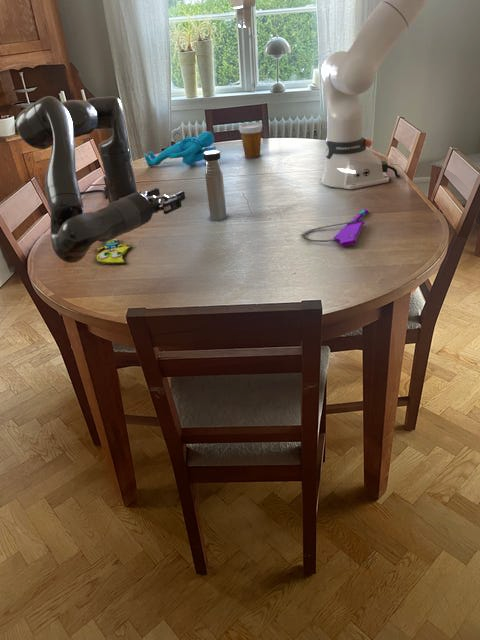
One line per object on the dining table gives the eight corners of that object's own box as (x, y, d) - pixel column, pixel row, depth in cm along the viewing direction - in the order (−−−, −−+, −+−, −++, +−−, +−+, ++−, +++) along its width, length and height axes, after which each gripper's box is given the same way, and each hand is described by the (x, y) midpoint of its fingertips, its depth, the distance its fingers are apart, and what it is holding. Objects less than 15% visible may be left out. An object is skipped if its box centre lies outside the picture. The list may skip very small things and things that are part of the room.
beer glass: (264, 157, 198) (262, 127, 191) (241, 159, 198) (238, 129, 192) (263, 152, 206) (261, 122, 199) (241, 153, 206) (239, 124, 200)
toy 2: (152, 145, 206) (216, 125, 196) (162, 169, 211) (224, 150, 201) (137, 155, 193) (205, 134, 182) (148, 181, 198) (214, 162, 187)
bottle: (229, 218, 144) (223, 153, 134) (214, 221, 143) (206, 157, 132) (222, 213, 148) (216, 150, 138) (207, 217, 146) (200, 153, 136)
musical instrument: (305, 254, 121) (386, 239, 118) (304, 246, 120) (385, 231, 117) (298, 224, 142) (366, 211, 139) (297, 217, 141) (366, 204, 138)
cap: (223, 159, 135) (222, 152, 134) (207, 162, 133) (206, 155, 132) (216, 155, 138) (216, 149, 137) (201, 158, 137) (200, 152, 136)
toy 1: (135, 237, 135) (125, 260, 122) (135, 240, 135) (125, 263, 123) (99, 239, 135) (85, 263, 122) (100, 242, 135) (86, 266, 123)
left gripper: (147, 201, 107) (191, 181, 118) (102, 195, 114) (147, 176, 125) (153, 233, 111) (194, 210, 122) (109, 225, 118) (152, 204, 129)
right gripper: (259, -38, 120) (262, 26, 128) (246, -31, 137) (249, 25, 145) (234, -36, 120) (239, 28, 127) (224, -29, 137) (228, 27, 144)
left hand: (170, 193), depth 124 cm, fingers open, 8 cm apart
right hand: (244, 27), depth 136 cm, fingers open, 8 cm apart
